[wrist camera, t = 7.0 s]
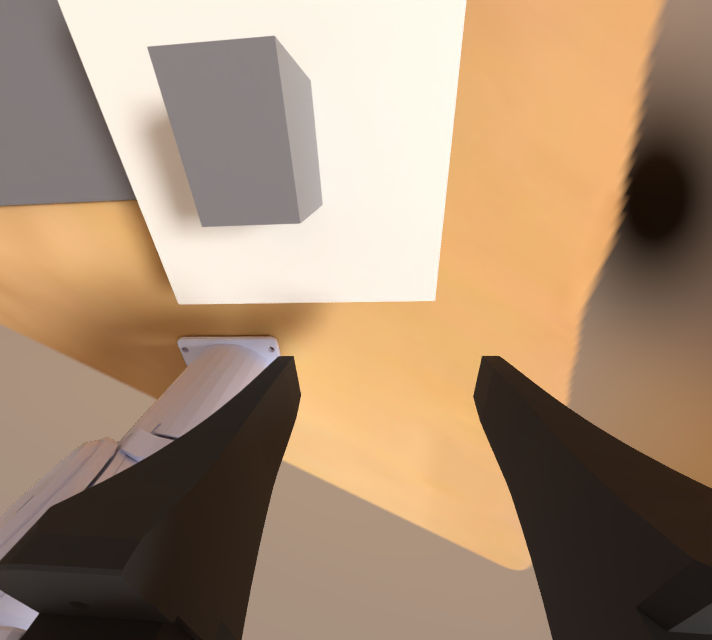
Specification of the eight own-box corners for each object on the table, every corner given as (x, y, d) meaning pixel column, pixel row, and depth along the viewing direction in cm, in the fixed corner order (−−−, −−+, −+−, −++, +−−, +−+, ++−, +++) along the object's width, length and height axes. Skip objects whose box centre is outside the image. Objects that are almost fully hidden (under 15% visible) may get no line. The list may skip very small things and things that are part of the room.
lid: (431, 292, 14) (455, 349, 10) (189, 296, 15) (116, 349, 11) (471, -129, 8) (587, -476, 4) (51, -76, 9) (-257, -302, 5)
